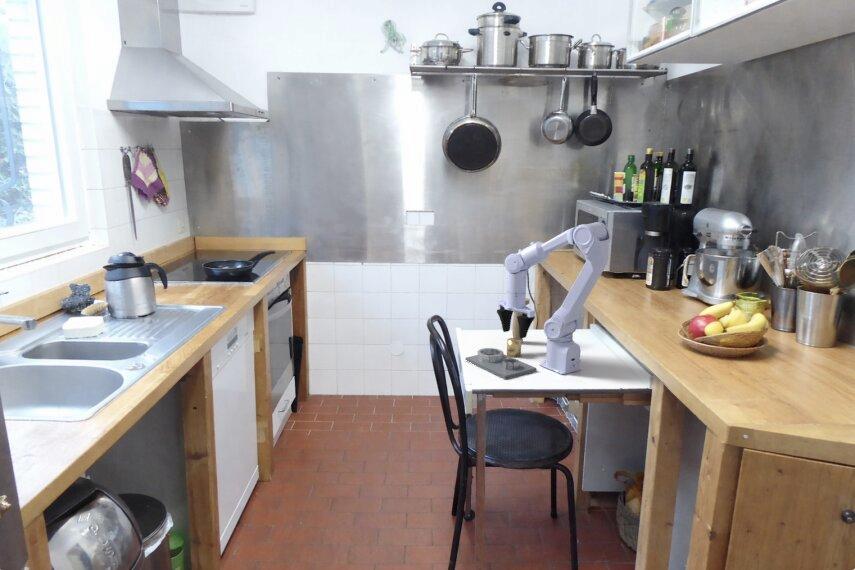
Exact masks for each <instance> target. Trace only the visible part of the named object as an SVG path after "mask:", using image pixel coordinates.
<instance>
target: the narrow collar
mask: <svg viewBox="0 0 855 570" xmlns="http://www.w3.org/2000/svg"><path fill="white" fill-rule="evenodd" d="M519 361H520V360H519V359H517V358H505V359H503V360H502V368H504V369H507V370H516V369H518V365H519Z"/></svg>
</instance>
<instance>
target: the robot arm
mask: <svg viewBox="0 0 855 570" xmlns="http://www.w3.org/2000/svg"><path fill="white" fill-rule="evenodd" d="M611 239H612V237H611V234H610V232H609V229H608V227H607V225H606V224H604V223H603V222H600V221H596V222H592V223H587V224H586V223H583V224H579V225H577V226H575V227H571V228H569V229H567V230H565V231H563V232H561V233H560V234H558V235H556V236H555V237H553V238H551V239H549V240H548V241H545V242H542V241H535V240H534V241H532V242H530V243H529V245H528V246H527V247H525V248H520V249H518V252H517V253H510V254H509V255H506V258H505V259H504V267H505V269H506V270H507V282H506V283H507V284H506V285H507V287H506V288H507V289H506V300H505V301H504V300H500V301H499V300H498V301H497V308H499V309H496V314H497V315H498V318H499V320H500V322H501V328H502V331H503V333H506V332H510V330H511V325H512V324H511V323H512V318H513V315H514V312H517V313H520V314H522V316H517V319H518V323H519V337H520V338H522V339H525V338H527V335H528V332H529V330H530V327H531V324H532V323H533V322H534V320H535V317H536V316H535V309H532V308H530V307H529V306H527V305H526V306H525V300H526V298H527V297H526V296H527V294H526V293H527V275H528V271H529V269H531V267H533V266H536V265H537V264H539V263H542V262H544V261H546V260H547V259H548V258H549V255H550V253H553V252H555V251H556V250H559V249H562V248H564V247H565V246H568V245H573V246H574V245H576V247H578V249H579V250H580V252H581V253H582V254H583V256H584V259H585V263H584V264H583V266H582V268H581V270H580V271H579V274H578V275H577V277H576V279H575V280H574V282H573V284H572V286H571V288H570V289H569V291H568V293H567V295H566V297H565V298H564V300H563V301H562V304H561V306H560V307H559V308H558V309H557V310H556V311H555V312H554V313H553V314H552V316H551V317H550V318H549V319H547V320H545V322H544V325H543V333H544V335H545V336H546V341H547V342H546V352H545V354H546V356H545V361H544V362H541V363H539V364H538V365H539V366H541V367H543V368H545V369H548V370H551V371H552V372H555V373H557V374H559V375H560V374H561V375H567V374H570V373H573V372H576V371H581V370H582V367H580V365H581V363H580V361H581V346H580V345H579V344H578V343H576V341H574V336H573V335H574V333H575V332H576V330H577V328H578V322H579V319H580V317H581V315H580V311H581V310H582V307H583V306H584V304H585V303H586V301H587V299H588V298H589V296H590V294H591V292H592V290H593V289H594V288H595V285H596V284H597V282H598V280H599V278H600V277H601V275H602V273H603V271H604V270H605V269H606V266H607V264H608V263H609V254H610V253H609V251H610V248H609V247H610V245H609V244H610V241H611Z"/></svg>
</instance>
